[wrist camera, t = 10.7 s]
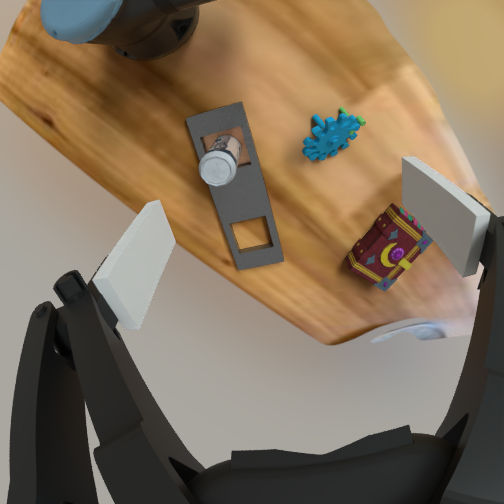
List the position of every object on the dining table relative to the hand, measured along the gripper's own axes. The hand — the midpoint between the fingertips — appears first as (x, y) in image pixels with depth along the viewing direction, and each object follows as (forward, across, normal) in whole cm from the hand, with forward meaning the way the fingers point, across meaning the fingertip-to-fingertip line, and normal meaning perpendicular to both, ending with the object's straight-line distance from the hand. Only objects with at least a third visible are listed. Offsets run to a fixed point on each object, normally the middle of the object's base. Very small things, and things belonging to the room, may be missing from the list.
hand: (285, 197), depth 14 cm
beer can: (+32, -8, -4) cm, 33 cm away
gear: (+33, +9, -4) cm, 34 cm away
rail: (+32, -7, -12) cm, 35 cm away
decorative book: (+33, +19, -27) cm, 47 cm away
